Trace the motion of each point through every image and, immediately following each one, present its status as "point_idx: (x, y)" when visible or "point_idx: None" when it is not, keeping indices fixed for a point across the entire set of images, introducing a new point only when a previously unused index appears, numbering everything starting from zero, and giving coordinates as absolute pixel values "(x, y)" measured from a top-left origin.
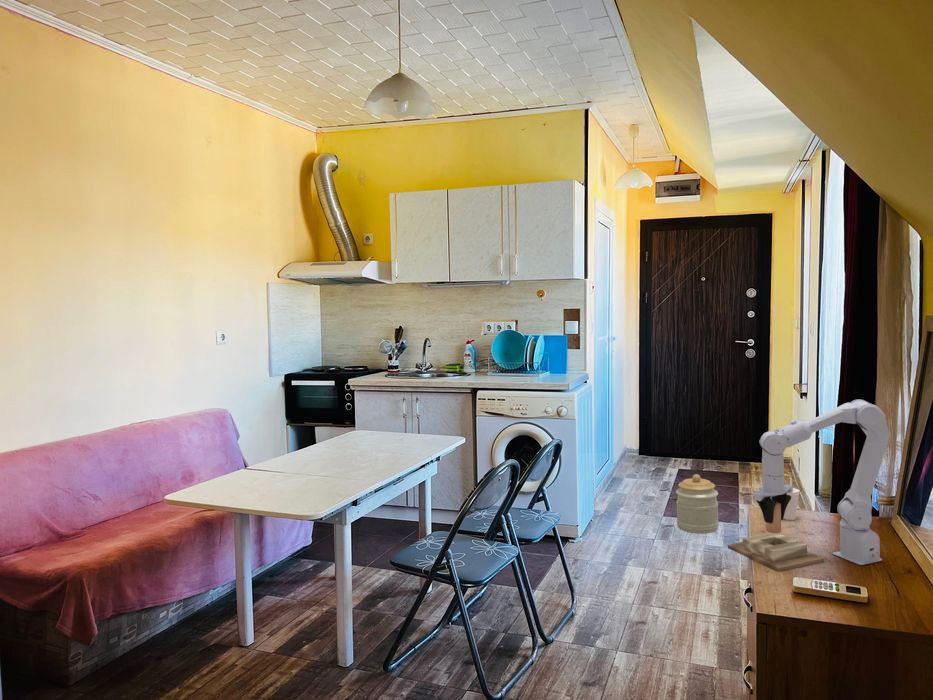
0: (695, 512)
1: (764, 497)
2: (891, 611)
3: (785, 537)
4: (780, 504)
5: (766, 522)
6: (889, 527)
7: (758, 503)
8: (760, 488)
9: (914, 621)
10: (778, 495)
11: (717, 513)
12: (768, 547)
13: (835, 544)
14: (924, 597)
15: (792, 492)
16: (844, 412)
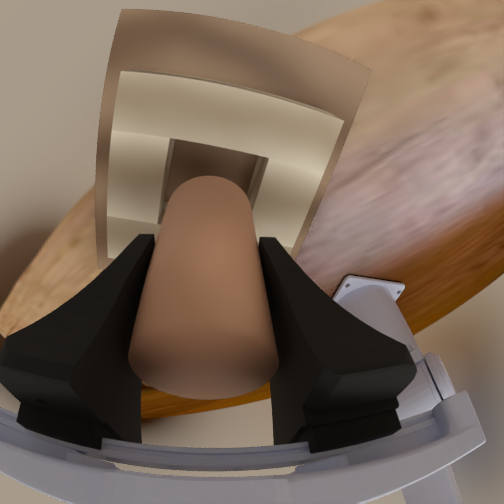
0: None
1: (47, 441)
2: (155, 402)
3: (298, 194)
4: (227, 397)
5: (162, 224)
6: None
7: (38, 328)
8: (104, 496)
9: (155, 413)
10: (296, 435)
11: None
12: (121, 224)
13: (428, 238)
14: (237, 405)
15: None
16: None
